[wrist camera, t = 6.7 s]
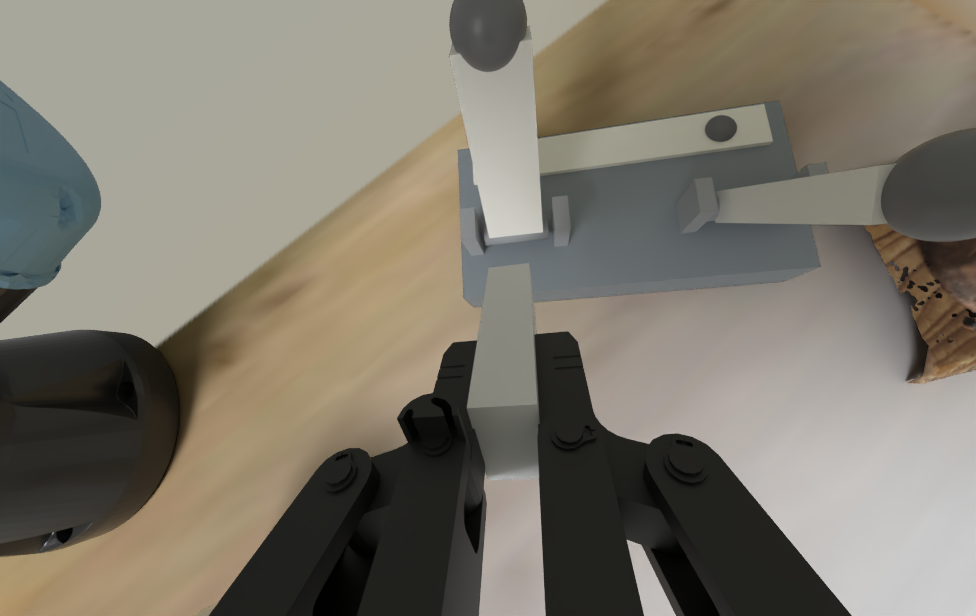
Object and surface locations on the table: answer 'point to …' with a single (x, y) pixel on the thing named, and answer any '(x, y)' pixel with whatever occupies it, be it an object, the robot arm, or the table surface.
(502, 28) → the marked lever
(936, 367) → the bird sculpture
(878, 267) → the table surface
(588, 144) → the switch unit
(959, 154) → the lever
